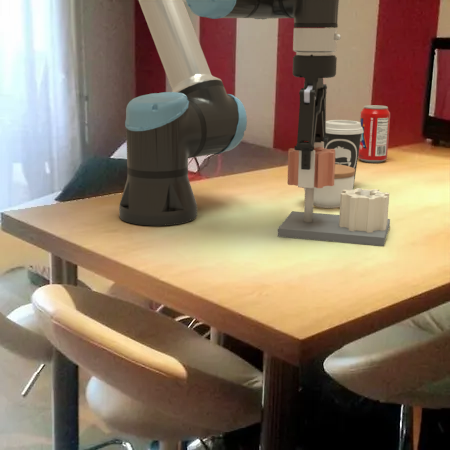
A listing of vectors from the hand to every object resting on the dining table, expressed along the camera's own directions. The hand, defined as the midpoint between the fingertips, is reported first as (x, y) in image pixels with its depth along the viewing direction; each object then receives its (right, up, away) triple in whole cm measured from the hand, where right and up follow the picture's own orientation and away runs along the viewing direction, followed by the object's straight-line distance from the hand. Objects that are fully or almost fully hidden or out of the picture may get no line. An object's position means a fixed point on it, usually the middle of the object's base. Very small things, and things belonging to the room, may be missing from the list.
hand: (310, 181), depth 134 cm
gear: (0, 0, 0) cm, 0 cm away
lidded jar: (+6, -4, +21) cm, 22 cm away
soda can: (+25, +10, +70) cm, 75 cm away
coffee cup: (+11, +1, +38) cm, 39 cm away
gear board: (+5, -9, +1) cm, 10 cm away
